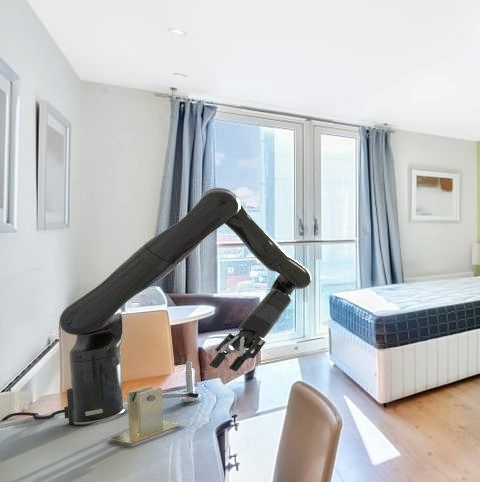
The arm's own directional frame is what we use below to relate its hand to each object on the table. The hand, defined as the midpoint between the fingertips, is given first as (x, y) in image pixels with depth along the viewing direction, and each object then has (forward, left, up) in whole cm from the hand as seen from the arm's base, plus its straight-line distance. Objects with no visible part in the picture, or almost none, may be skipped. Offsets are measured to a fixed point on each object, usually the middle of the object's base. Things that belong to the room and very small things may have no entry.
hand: (222, 368), depth 124 cm
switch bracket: (-10, -15, -11) cm, 21 cm away
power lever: (-8, -11, -4) cm, 14 cm away
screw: (-11, +5, -12) cm, 17 cm away
